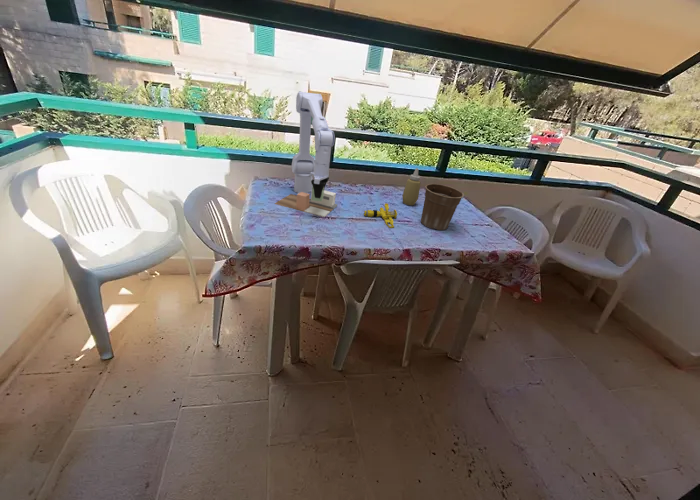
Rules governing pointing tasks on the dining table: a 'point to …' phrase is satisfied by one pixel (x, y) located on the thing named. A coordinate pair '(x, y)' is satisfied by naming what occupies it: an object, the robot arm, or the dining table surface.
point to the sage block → (314, 195)
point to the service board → (292, 200)
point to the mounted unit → (325, 200)
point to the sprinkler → (383, 215)
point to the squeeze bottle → (412, 189)
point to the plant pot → (439, 205)
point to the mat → (317, 211)
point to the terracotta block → (303, 200)
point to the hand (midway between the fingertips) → (318, 196)
